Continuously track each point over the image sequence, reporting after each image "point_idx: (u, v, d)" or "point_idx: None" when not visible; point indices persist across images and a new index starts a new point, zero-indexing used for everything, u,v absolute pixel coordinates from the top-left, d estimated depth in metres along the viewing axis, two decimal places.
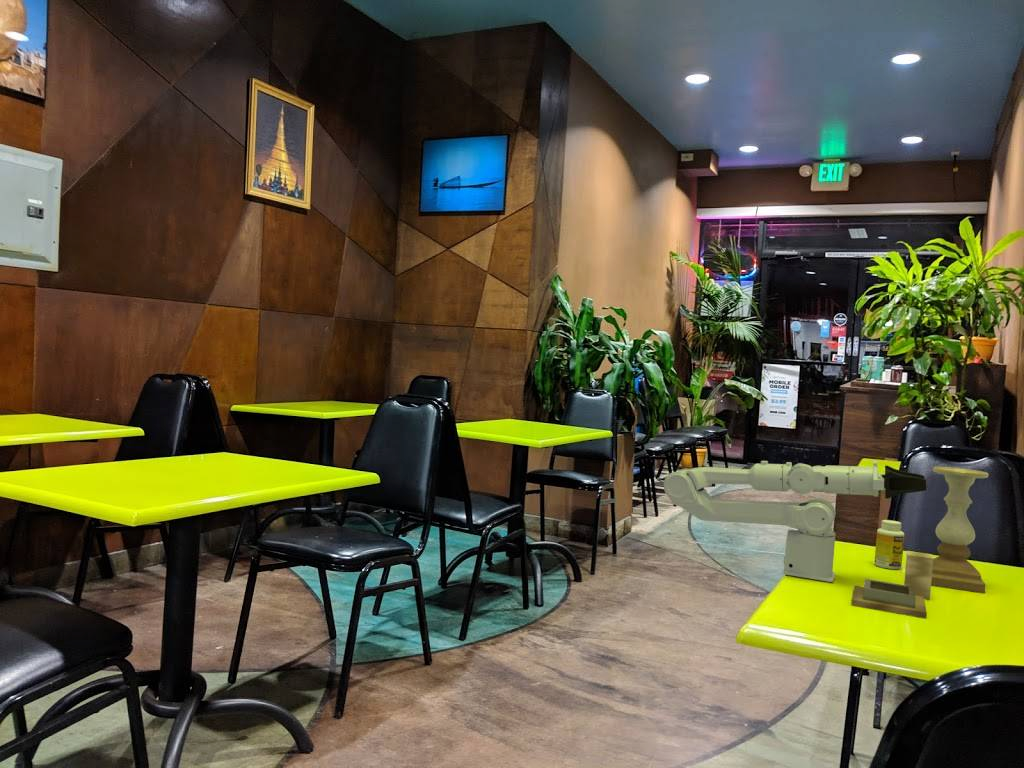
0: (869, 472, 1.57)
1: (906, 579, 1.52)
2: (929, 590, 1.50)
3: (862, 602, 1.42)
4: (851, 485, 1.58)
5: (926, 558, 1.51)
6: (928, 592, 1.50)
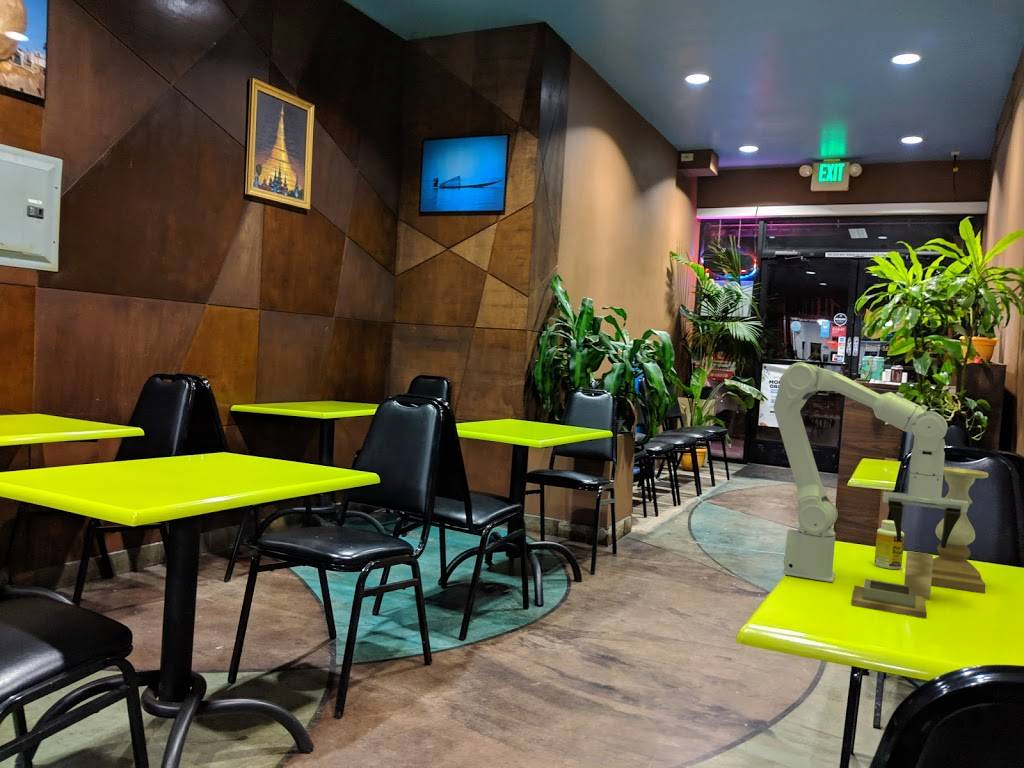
0: (912, 492, 1.52)
1: (906, 579, 1.52)
2: (929, 590, 1.50)
3: (862, 602, 1.42)
4: None
5: (926, 558, 1.51)
6: (928, 592, 1.50)
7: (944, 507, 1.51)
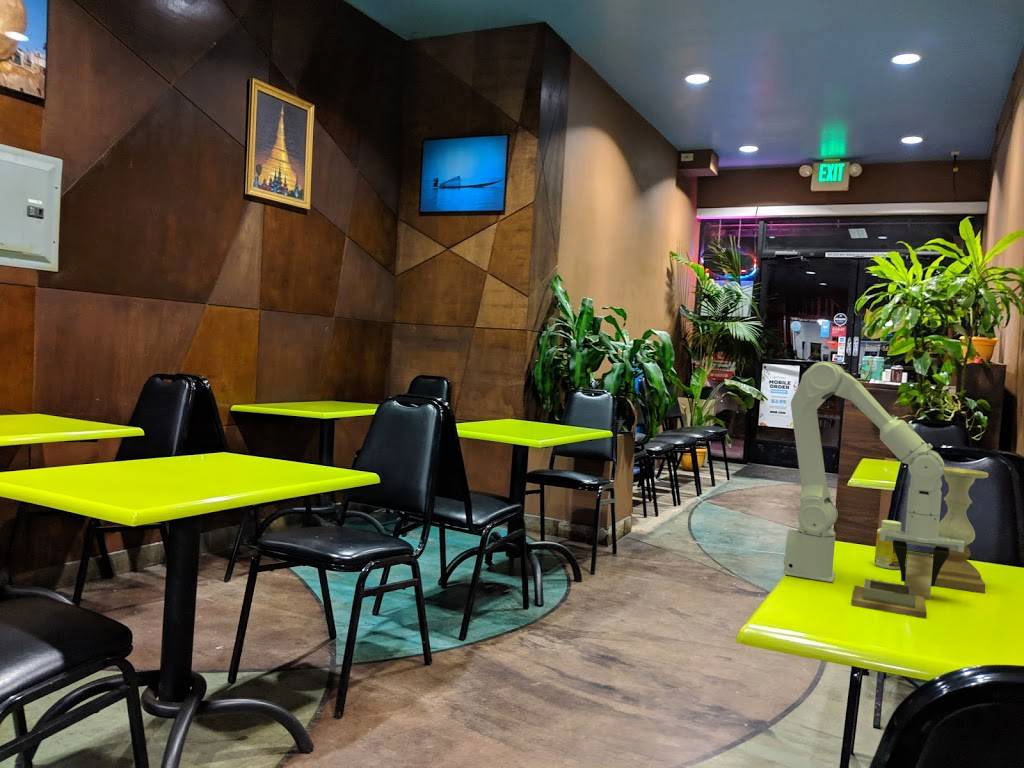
0: (909, 531, 1.52)
1: (906, 579, 1.52)
2: (929, 590, 1.50)
3: (862, 602, 1.42)
4: None
5: (926, 558, 1.51)
6: (928, 592, 1.50)
7: (941, 546, 1.51)
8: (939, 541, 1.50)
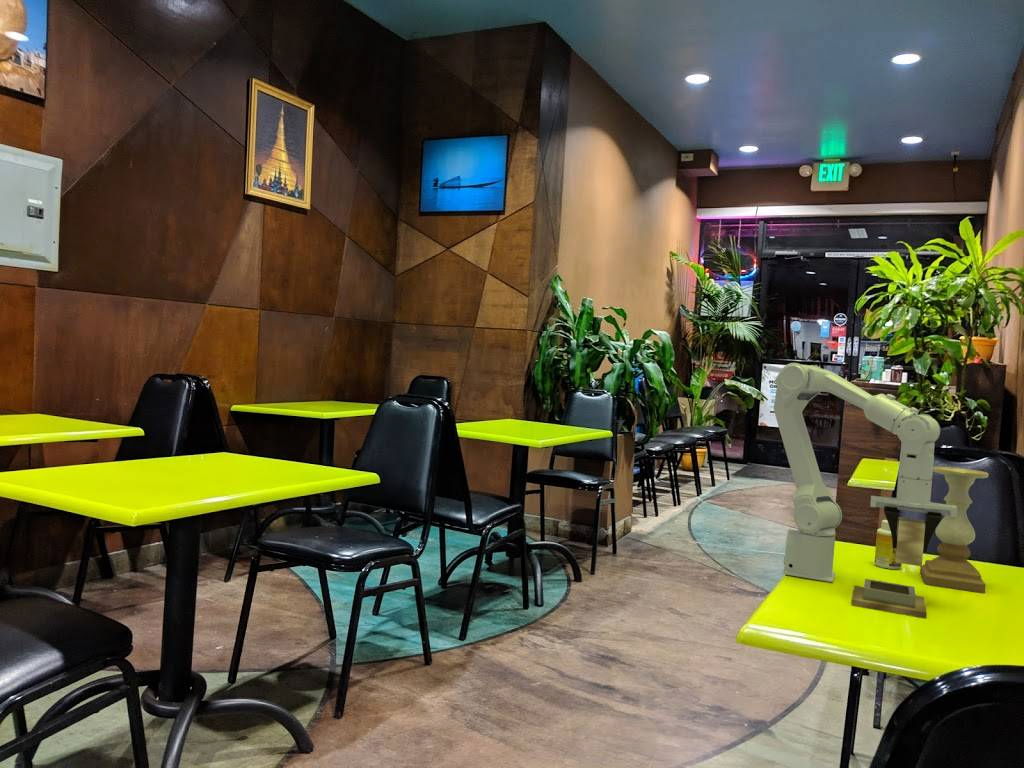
0: (900, 496, 1.49)
1: (898, 545, 1.49)
2: (921, 556, 1.47)
3: (862, 602, 1.42)
4: None
5: (918, 523, 1.47)
6: (920, 558, 1.47)
7: (933, 512, 1.48)
8: (931, 506, 1.47)
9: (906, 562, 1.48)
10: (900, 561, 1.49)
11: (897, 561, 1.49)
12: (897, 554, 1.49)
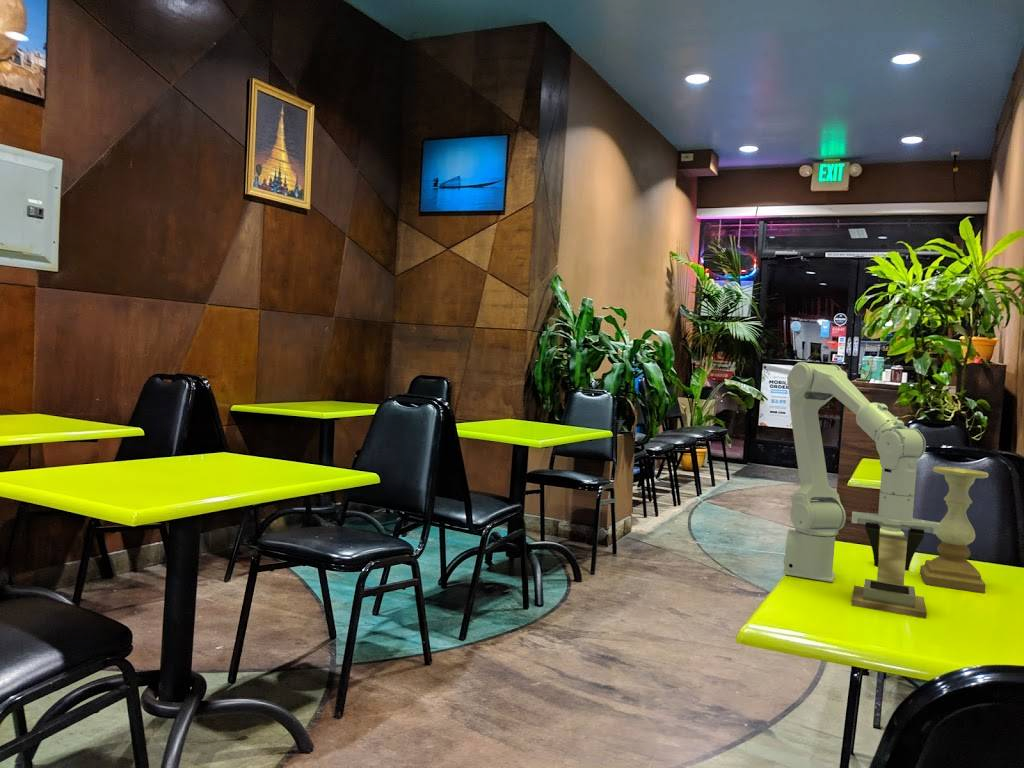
0: (882, 513, 1.44)
1: (879, 563, 1.44)
2: (903, 574, 1.42)
3: (862, 602, 1.42)
4: None
5: (900, 541, 1.43)
6: (902, 577, 1.43)
7: (915, 529, 1.43)
8: (913, 523, 1.42)
9: (888, 580, 1.44)
10: (881, 579, 1.44)
11: (878, 579, 1.44)
12: (878, 572, 1.44)
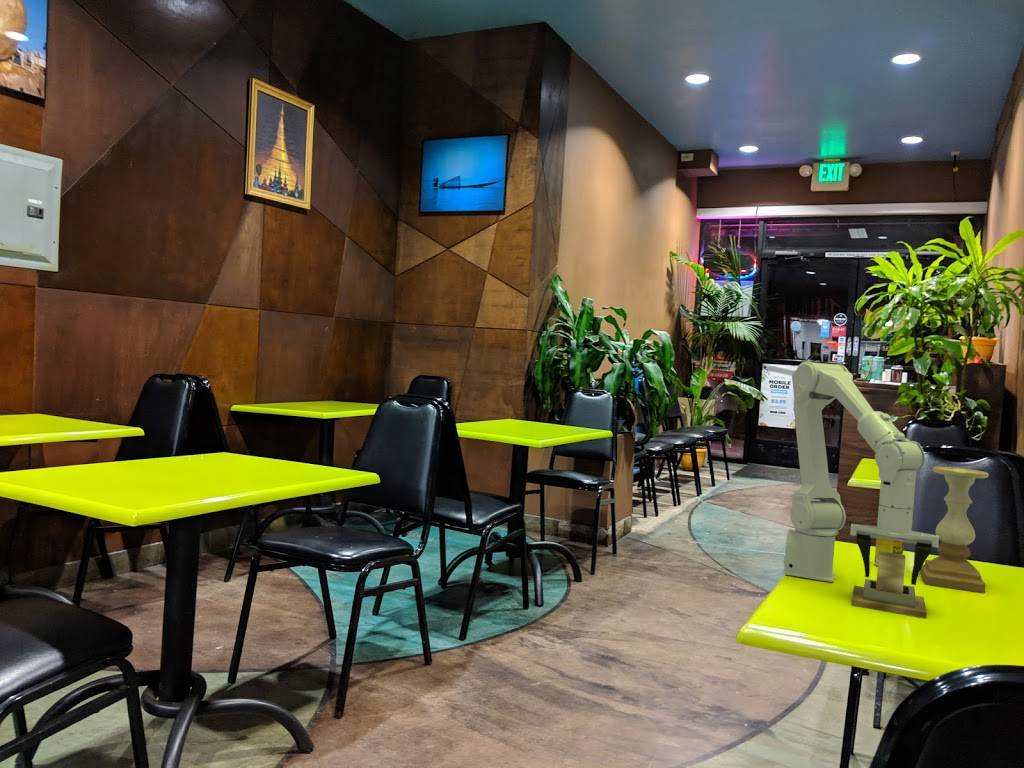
0: (881, 525, 1.44)
1: (877, 581, 1.44)
2: None
3: (862, 602, 1.42)
4: None
5: (898, 559, 1.43)
6: None
7: (914, 542, 1.43)
8: (912, 536, 1.42)
9: None
10: None
11: None
12: None
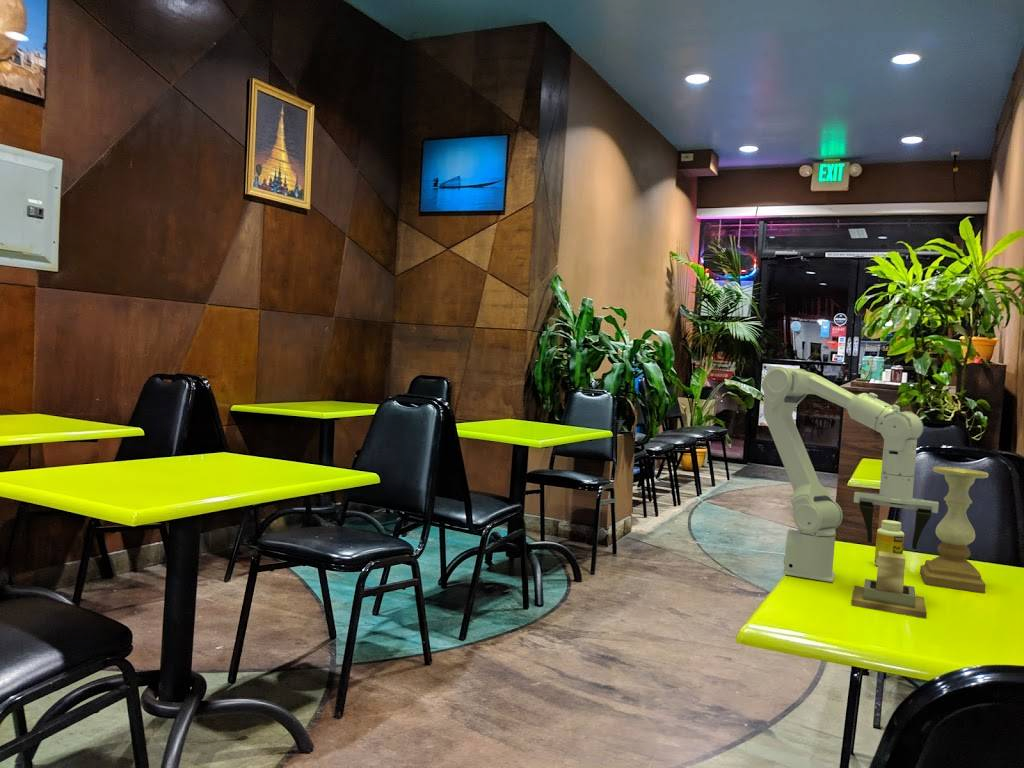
0: (883, 492, 1.51)
1: (877, 581, 1.44)
2: None
3: (862, 602, 1.42)
4: None
5: (898, 559, 1.43)
6: None
7: (915, 508, 1.50)
8: (913, 502, 1.48)
9: None
10: None
11: None
12: None
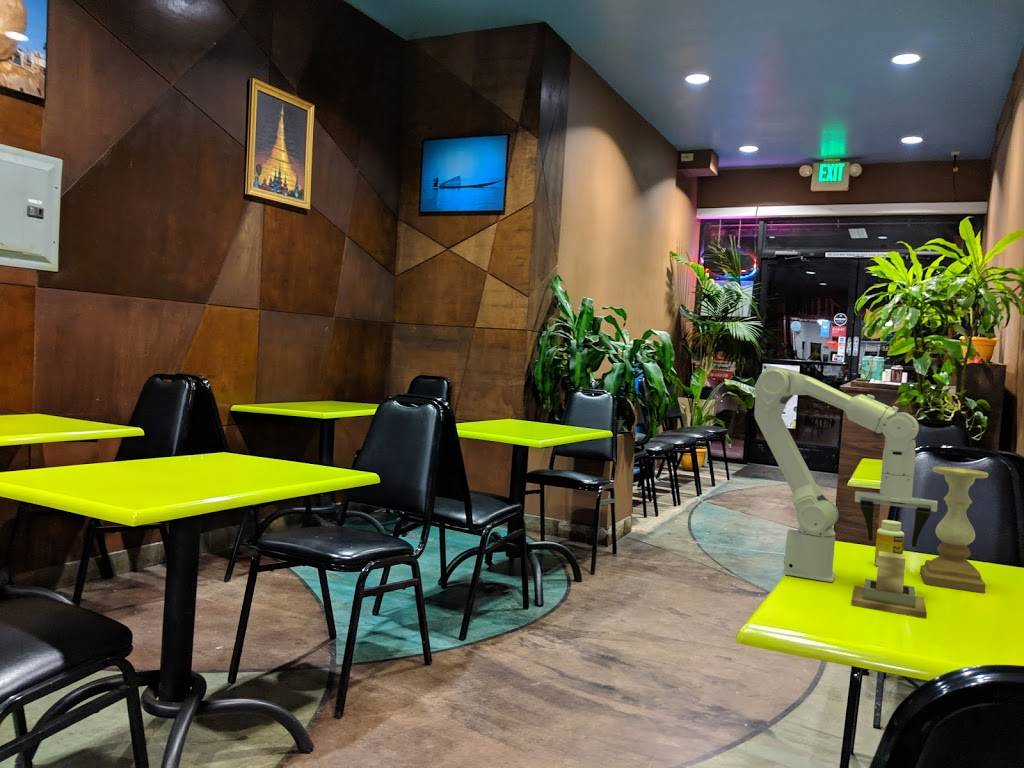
0: (883, 492, 1.54)
1: (877, 581, 1.44)
2: None
3: (862, 602, 1.42)
4: None
5: (898, 559, 1.43)
6: None
7: (914, 507, 1.53)
8: (912, 501, 1.52)
9: None
10: None
11: None
12: None
